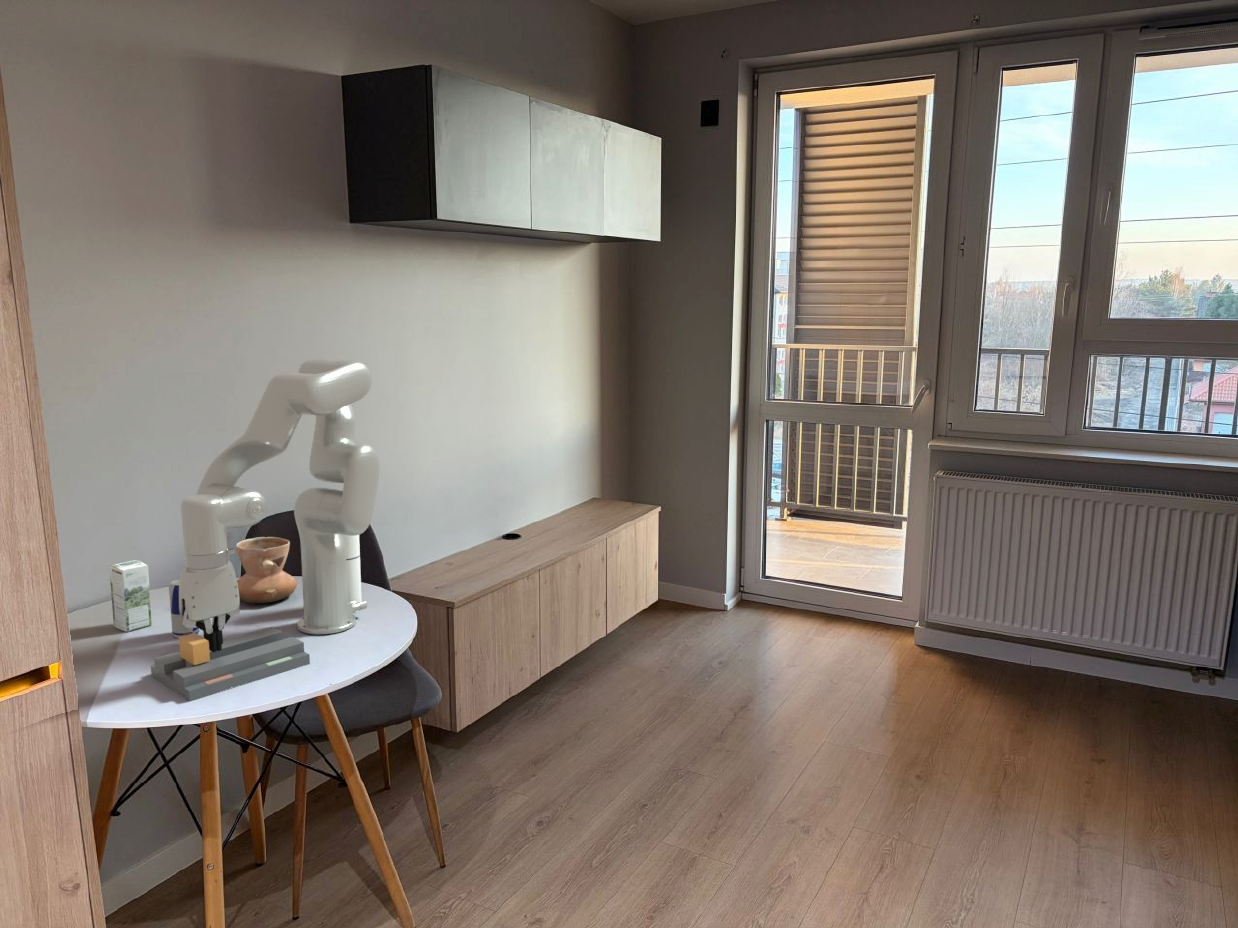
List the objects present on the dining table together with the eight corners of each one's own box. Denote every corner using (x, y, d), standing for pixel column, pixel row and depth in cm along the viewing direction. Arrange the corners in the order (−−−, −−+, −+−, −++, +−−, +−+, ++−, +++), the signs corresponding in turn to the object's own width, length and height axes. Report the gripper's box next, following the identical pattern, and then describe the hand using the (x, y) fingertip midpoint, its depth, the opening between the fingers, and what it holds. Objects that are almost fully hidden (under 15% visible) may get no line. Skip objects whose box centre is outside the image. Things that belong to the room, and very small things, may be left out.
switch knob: (196, 661, 176) (194, 632, 175) (210, 670, 173) (208, 640, 171) (181, 666, 174) (178, 637, 173) (194, 675, 170) (192, 645, 169)
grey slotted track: (268, 641, 193) (267, 624, 193) (309, 663, 182) (308, 644, 182) (151, 674, 176) (149, 655, 175) (189, 701, 165) (188, 680, 164)
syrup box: (139, 620, 205) (134, 558, 202) (153, 625, 202) (148, 563, 199) (113, 627, 200) (108, 564, 198) (127, 633, 197) (121, 569, 194)
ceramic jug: (301, 604, 217) (299, 547, 215) (237, 612, 210) (234, 553, 208) (291, 584, 233) (288, 531, 231) (230, 591, 226) (227, 536, 224)
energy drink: (188, 639, 194) (185, 586, 192) (167, 637, 195) (162, 584, 193) (204, 630, 199) (201, 578, 197) (183, 628, 200) (179, 577, 198)
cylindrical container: (344, 613, 211) (340, 509, 207) (324, 607, 215) (319, 505, 211) (368, 605, 217) (364, 504, 213) (347, 599, 221) (343, 500, 217)
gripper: (235, 547, 180) (241, 634, 183) (158, 563, 169) (166, 655, 172) (254, 554, 175) (260, 643, 179) (175, 572, 164) (184, 666, 168)
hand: (214, 649), depth 176 cm, fingers closed
